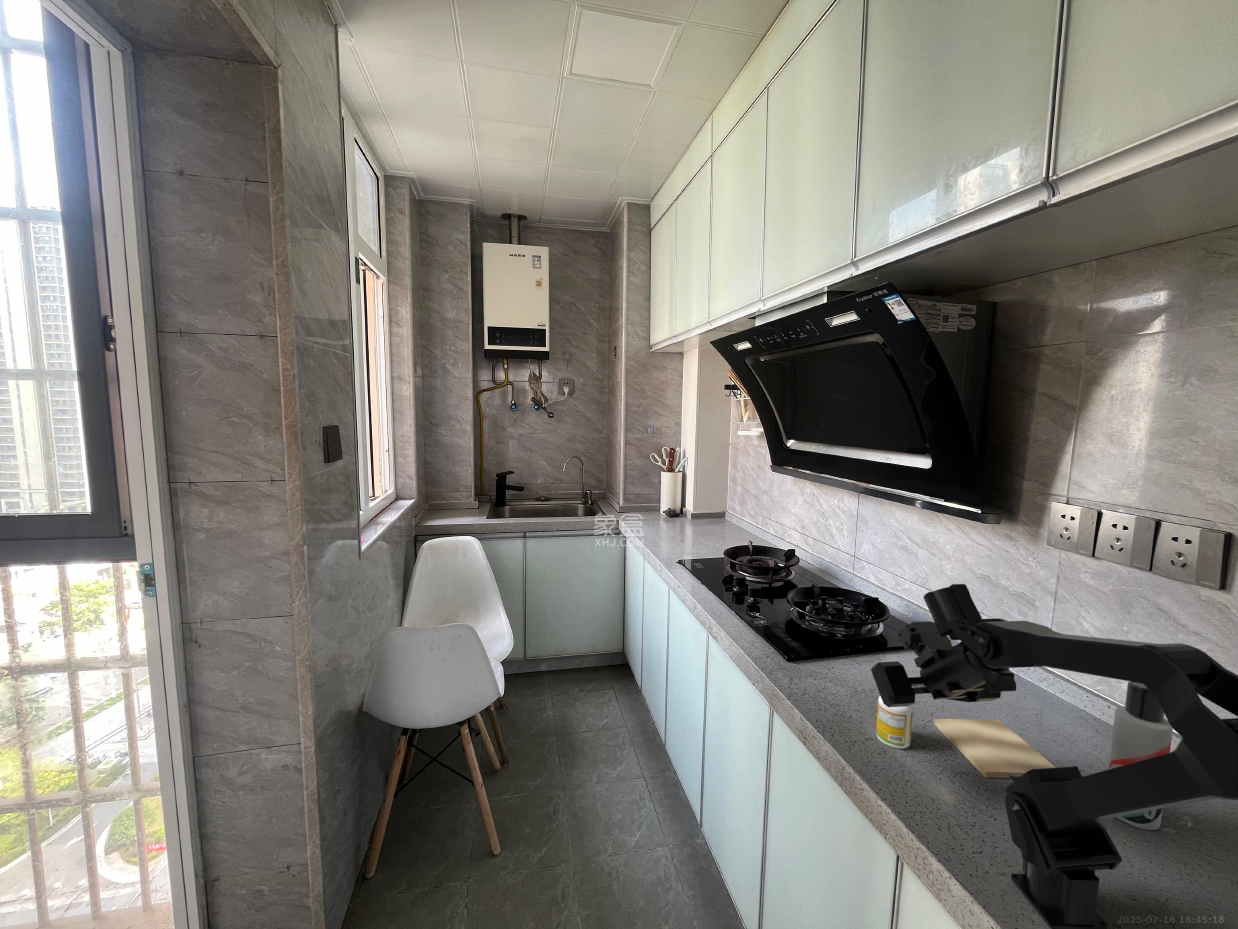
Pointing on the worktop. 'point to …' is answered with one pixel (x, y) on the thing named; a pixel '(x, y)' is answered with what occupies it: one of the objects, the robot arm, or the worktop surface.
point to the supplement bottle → (894, 725)
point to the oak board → (992, 747)
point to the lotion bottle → (1140, 741)
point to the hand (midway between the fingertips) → (907, 695)
